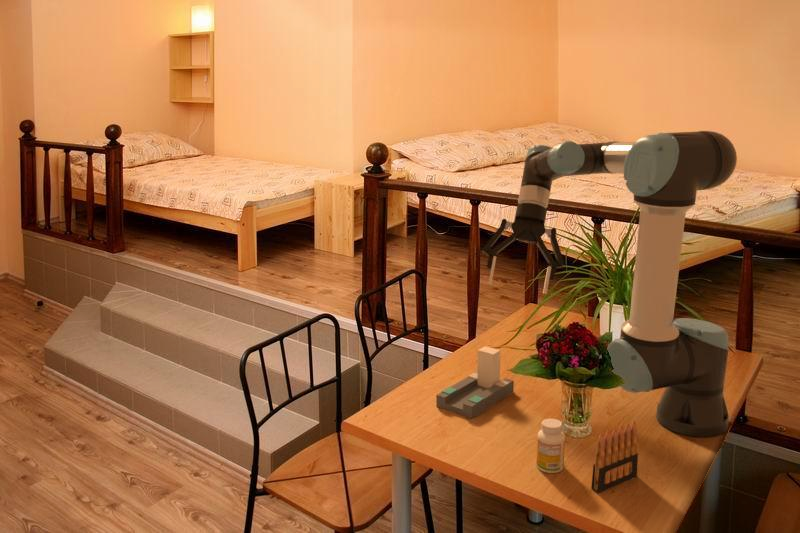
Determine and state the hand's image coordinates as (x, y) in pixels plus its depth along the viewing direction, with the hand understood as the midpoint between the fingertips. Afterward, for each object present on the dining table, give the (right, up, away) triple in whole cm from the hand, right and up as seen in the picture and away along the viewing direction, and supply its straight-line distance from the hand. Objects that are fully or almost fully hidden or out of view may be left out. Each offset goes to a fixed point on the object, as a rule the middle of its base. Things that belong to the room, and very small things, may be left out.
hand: (517, 288), depth 190 cm
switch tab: (-7, -24, -2) cm, 25 cm away
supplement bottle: (+1, -35, -36) cm, 50 cm away
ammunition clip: (+12, -37, -41) cm, 57 cm away
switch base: (-11, -26, -5) cm, 29 cm away
